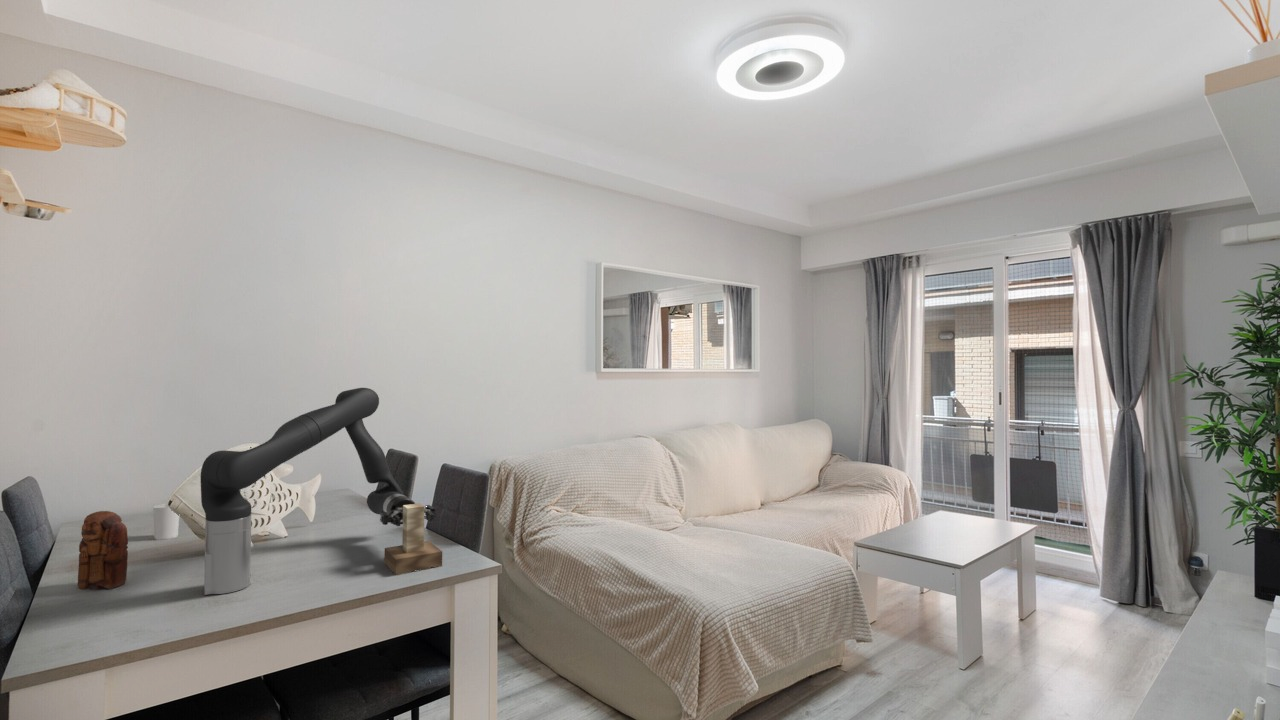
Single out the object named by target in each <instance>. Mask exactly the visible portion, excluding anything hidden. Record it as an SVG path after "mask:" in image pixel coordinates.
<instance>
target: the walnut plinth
mask: <svg viewBox="0 0 1280 720" xmlns="http://www.w3.org/2000/svg"><path fill="white" fill-rule="evenodd" d="M384 564H385V565H386V566H387V567H388V569H390V570H391V571H392V572H393V574H394V575H395V576H397V575H404V574H408V573H407V572H409V573H412V572H411V571H414V572H416V571H415V570H419V571H421V570H420V569H424V570H427V569H426V568H429V569H432V568H431V567H435V568H438V567H437V566H440V567H443V551H442V549H440V548H439V547H438V546H436V545H435V544H433V543H432V541H429V540H427V541H426V540H424V550H423V551H417V552H411V553H406V552H405V551H404V550H403V549H402V544H400V545H397V546H395V545H394V546H390V547H384ZM403 573H404V574H403Z"/></svg>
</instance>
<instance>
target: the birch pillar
mask: <svg viewBox="0 0 1280 720" xmlns="http://www.w3.org/2000/svg"><path fill="white" fill-rule="evenodd" d="M424 508H425V506H424V505H423V504H421V502H419V503H415V504H410V505H403V524H402V544H401V545H402V549H403V550H404V551H405V552H406V553H411V552H417V551H423V550H424V541H425V519H424V516H425V513H424Z"/></svg>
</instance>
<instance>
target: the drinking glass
mask: <svg viewBox="0 0 1280 720" xmlns="http://www.w3.org/2000/svg"><path fill="white" fill-rule="evenodd" d="M168 503H169V502H167V503H161V504H156V505H154V506H152V510H153V511H152V512H153V514H152V515H153V531H154V532H153V534H154V537H153V538H154V540H158V541H159V540H160V541H161V540H163V541H164V540H171V539H173V538H176V537H179V527H180V515H179V516H178V515H177V514H176V513H174V512H173V511H171V509H170V508H169V506H168Z"/></svg>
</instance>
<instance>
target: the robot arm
mask: <svg viewBox="0 0 1280 720" xmlns="http://www.w3.org/2000/svg"><path fill="white" fill-rule="evenodd" d="M379 404H380V397H379V395H378V393H377V392H376V391H375V390H374V389H371V388H368V387H357V388H352V389H347V390H344V391H341V392H340V393H338V395H337V396H336V398H335V402H334V403H333V404H331V405H326V406H323V407H320V408H317V409H314V410H310V411H309V412H305V413H303V414H301V415H298V416H297V417H294V418H292V419H290V420H289V421H287V422H285V423H283V424H281V426H280V427H278V429H277V430H276V431H275V433H273V435H272V437H271V438H270V439H268V440H266V441H265V442H263V443H260V444H258V445H257V446H255V447H252V448H250V449H246V450H242V451H240V450H239V451H238V450H218V451H214V452H212V453H211V454H209V455H208V456H207V457H206V458H205V460H204V461H203V463H202V465H201V470H200V496H201V497H200V500H201V508H202V510H203V512H204V513H205V514H204V515H205V518H204V519H205V531H204V532H205V534H204V535H205V536H204V537H205V539H204V575H203V576H204V581H203V582H204V583H203V588H204V589H203V590H204V592H203V594H204V595H205V596H206V595H222V594H228V593H229V594H230V593H233V592H237V591H240V590H243V589H246V588H248V587H249V586H250V585H251V566H252V565H251V562H252V559H251V558H252V556H251V555H252V553H251V552H252V505H251V502H250V501H248V500H247V499H246V498H245V497H244V496H243V495H242V493H241V490H243V489H245V488H249V487H250V486H252V485H253V484H255V483H257V482H258V481H260V479H262V478H264V477H265V476H266V475H267V474H269V473H271V472H272V471H273V470H275V469H276V468H278V467H279V466H281V465H283V464H285V463H286V462H288V461H289V460H292V459H294V458H295V457H297V456H298V455H300V454H302V453H304V452H307V451H308V450H310V449H311V448H313V447H315V446H316V445H318V444H320V443H322V442H323V441H324V440H327V439H328V438H329V437H332V436H334V435H335V434H337V433H338V432H340V431H342V429H344V428H345V430H346V432H347V434H348V436H349V439H350V441H351V443H352V444H353V446H354V448H355V450H356V452H357V454H358V458H359V460H360V462H361V466H362V469H363V472H364V475H365V479H366V481H367V483H368V484H378V483H385V484H386V486H383V487H381V488H378V489H375V490H373V491H371V492H370V493H369V494H367V498H366V505H367V507H368V509H369V510H370V511H371V512H372V513H374V514H376V515H379V521H380V522H381V524H382V525H385V526H387V525H388V524H390V525H393V526H396V527H401V525H403V505H410V504H416V502H415V501H414V500H412V499H411V498H409V497H408V496H406V495H404V491H403V490H402V488H401V486H399V484H398V483H397V482H396V480H395V478H394V477H393V474H392V472H391V470H390V467H389V464H388V461H387V458H386V455H385V452H384V450H383V449H382V447H381V446H380V444H378V443H377V441H376V440H375V439H374V438H373V437H372V435H371V434H370V433H369V431H368V430H367V428H366V426H365V423H364V421H363V419H365V418H368V417H371V416H372V415H373V414H375V412H376V411H377V410H378V408H379ZM436 518H437V508H436V507H434V506H432V505H429V504H427V505H425V506H424V520H426V521H428V522H433V520H434V519H436Z"/></svg>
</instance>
